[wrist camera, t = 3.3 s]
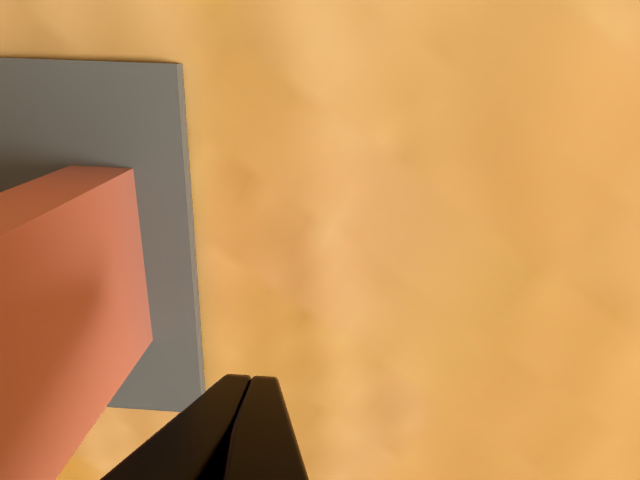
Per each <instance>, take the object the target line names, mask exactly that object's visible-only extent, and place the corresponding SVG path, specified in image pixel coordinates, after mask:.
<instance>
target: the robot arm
mask: <svg viewBox="0 0 640 480" xmlns="http://www.w3.org/2000/svg"><path fill="white" fill-rule="evenodd" d="M100 480H309V479H308V476H307V472H306V469H305V466H304V463H303V459H302V456H301V453H300V450H299V446H298V443H297V440H296V437H295V433H294V430H293V427H292V424H291V420H290V417H289V414H288V411H287V407H286V404H285V401H284V398H283V394H282V391H281V388H280V385H279V381H278V379H277V378H276V377H269V376H254V377H253V378H252V379H251V377H250V376H249V375H237V374H227V375H225V376H224V377H222V378H221V379H220V380H219V381H218V382H216V383H215V384H214V385H213V386H212V387H210V388H209V389H208V390H207V391H206V392H204V393H203V394H202V395H201V396H200V397H198V398H197V399H196V400H195V401H194V402H192V403H191V404H190V405H189V406H188V407H186V408H185V409H184V410H183V411H182V412H180V413H179V414H178V415H177V416H176V417H174V418H173V419H172V420H171V421H170V422H168V423H167V424H166V425H165V426H164V427H162V428H161V429H160V430H159V431H158V432H156V433H155V434H154V435H153V436H152V437H151V438H149V439H148V440H147V441H146V442H145V443H143V444H142V445H141V446H140V447H139V448H137V449H136V450H135V451H134V452H133V453H131V454H130V455H129V456H128V457H127V458H125V459H124V460H123V461H122V462H121V463H119V464H118V465H117V466H116V467H115V468H113V469H112V470H111V471H110V472H109V473H107V474H106V475H105V476H104V477H103V478H101V479H100Z"/></svg>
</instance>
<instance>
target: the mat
mask: <svg viewBox="0 0 640 480" xmlns="http://www.w3.org/2000/svg"><path fill="white" fill-rule="evenodd" d="M70 165H74V166H96V167H118V168H133V171H134V180H135V188H136V197H137V206H138V215H139V223H140V232H141V241H142V250H143V258H144V267H145V276H146V285H147V293H148V302H149V311H150V320H151V328H152V337H153V341H152V342H151V343H150V345H149V346H148V348H147V349H146V351H145V352H144V353H143V355H142V356H141V358H140V359H139V361H138V362H137V364H136V365H135V366H134V368H133V369H132V371H131V372H130V374H129V375H128V376H127V378H126V379H125V381H124V382H123V384H122V385H121V386H120V388H119V389H118V391H117V392H116V394H115V395H114V396H113V398H112V399H111V401H110V402H109V404H108V405H107V406H106V407H115V408H130V409H145V410H159V411H174V412H182V411H183V410H184V409H185V408H186V407H188V406H189V405H190V404H191V403H192V402H194V401H195V400H196V399H197V398H198V397H200V396H201V395H202V394H203V393H204V392H205V380H204V365H203V351H202V337H201V323H200V308H199V294H198V280H197V266H196V251H195V237H194V223H193V208H192V194H191V180H190V166H189V151H188V137H187V123H186V109H185V94H184V80H183V66H182V64H178V63H149V62H120V61H92V60H63V59H35V58H6V57H0V192H3V191H5V190H8V189H11V188H13V187H16V186H18V185H21V184H23V183H26V182H29V181H31V180H34V179H36V178H39V177H42V176H44V175H47V174H49V173H52V172H55V171H57V170H60V169H62V168H65V167H68V166H70Z"/></svg>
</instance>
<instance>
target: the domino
mask: <svg viewBox="0 0 640 480" xmlns="http://www.w3.org/2000/svg"><path fill="white" fill-rule="evenodd" d="M152 341H153V337H152V328H151V320H150V311H149V302H148V293H147V285H146V276H145V267H144V258H143V250H142V241H141V232H140V223H139V215H138V206H137V197H136V188H135V180H134V171H133V168H118V167H96V166H74V165H70V166H68V167H65V168H62V169H60V170H57V171H55V172H52V173H49V174H47V175H44V176H42V177H39V178H36V179H34V180H31V181H29V182H26V183H23V184H21V185H18V186H16V187H13V188H11V189H8V190H5V191H3V192H0V480H55V479H56V478H57V476H58V475H59V474H60V472H61V471H62V469H63V468H64V466H65V465H66V464H67V462H68V461H69V459H70V458H71V456H72V455H73V454H74V452H75V451H76V449H77V448H78V446H79V445H80V444H81V442H82V441H83V439H84V438H85V436H86V435H87V434H88V432H89V431H90V429H91V428H92V426H93V425H94V424H95V422H96V421H97V419H98V418H99V416H100V415H101V414H102V412H103V411H104V409H105V408H106V406H107V405H108V404H109V402H110V401H111V399H112V398H113V396H114V395H115V394H116V392H117V391H118V389H119V388H120V386H121V385H122V384H123V382H124V381H125V379H126V378H127V376H128V375H129V374H130V372H131V371H132V369H133V368H134V366H135V365H136V364H137V362H138V361H139V359H140V358H141V356H142V355H143V353H144V352H145V351H146V349H147V348H148V346H149V345H150V343H151V342H152Z"/></svg>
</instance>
